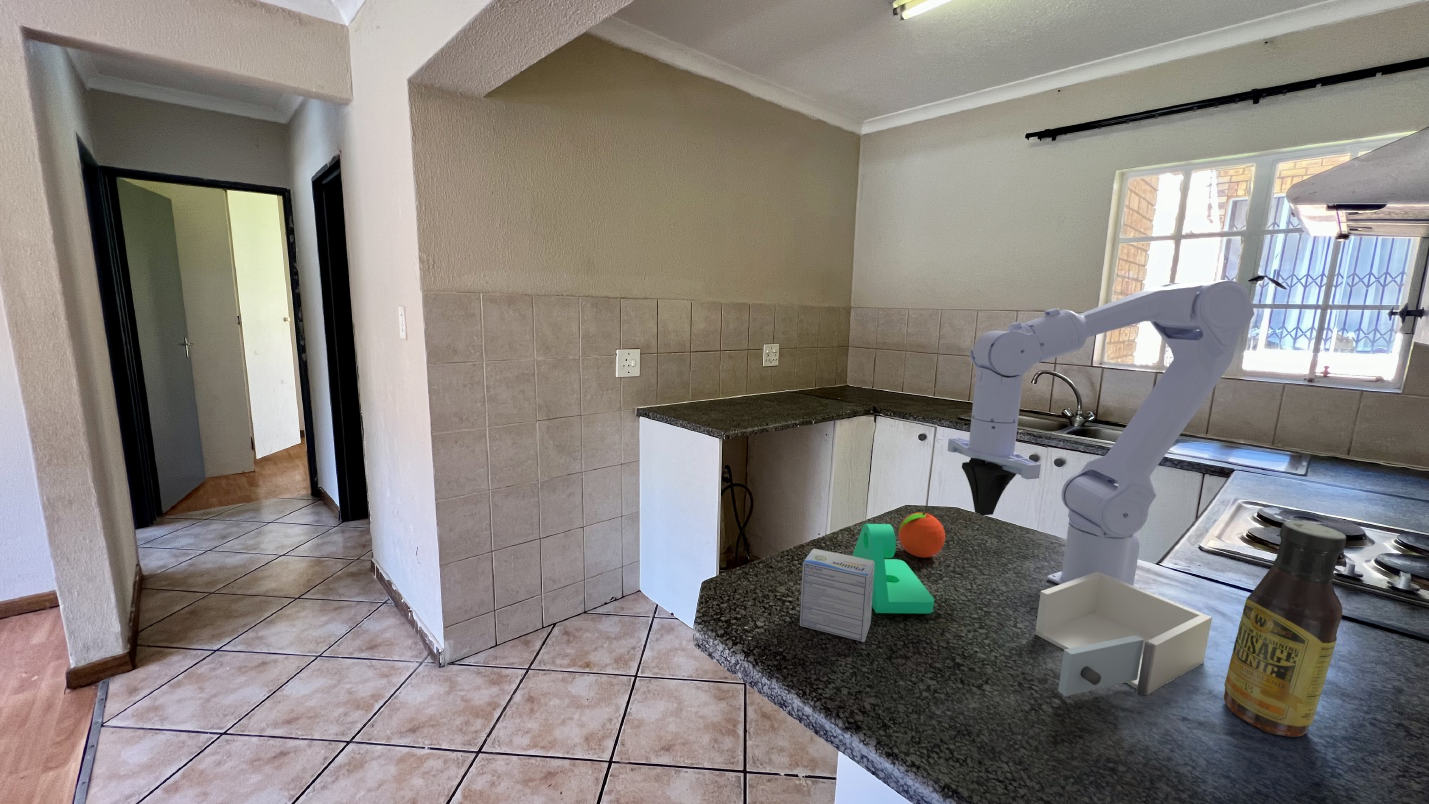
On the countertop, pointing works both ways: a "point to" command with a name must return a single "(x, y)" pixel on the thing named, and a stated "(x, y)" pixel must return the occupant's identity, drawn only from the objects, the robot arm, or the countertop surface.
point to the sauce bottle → (1288, 633)
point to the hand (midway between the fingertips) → (983, 513)
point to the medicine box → (837, 594)
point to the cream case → (1125, 625)
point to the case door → (1100, 665)
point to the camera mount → (891, 574)
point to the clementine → (921, 535)
